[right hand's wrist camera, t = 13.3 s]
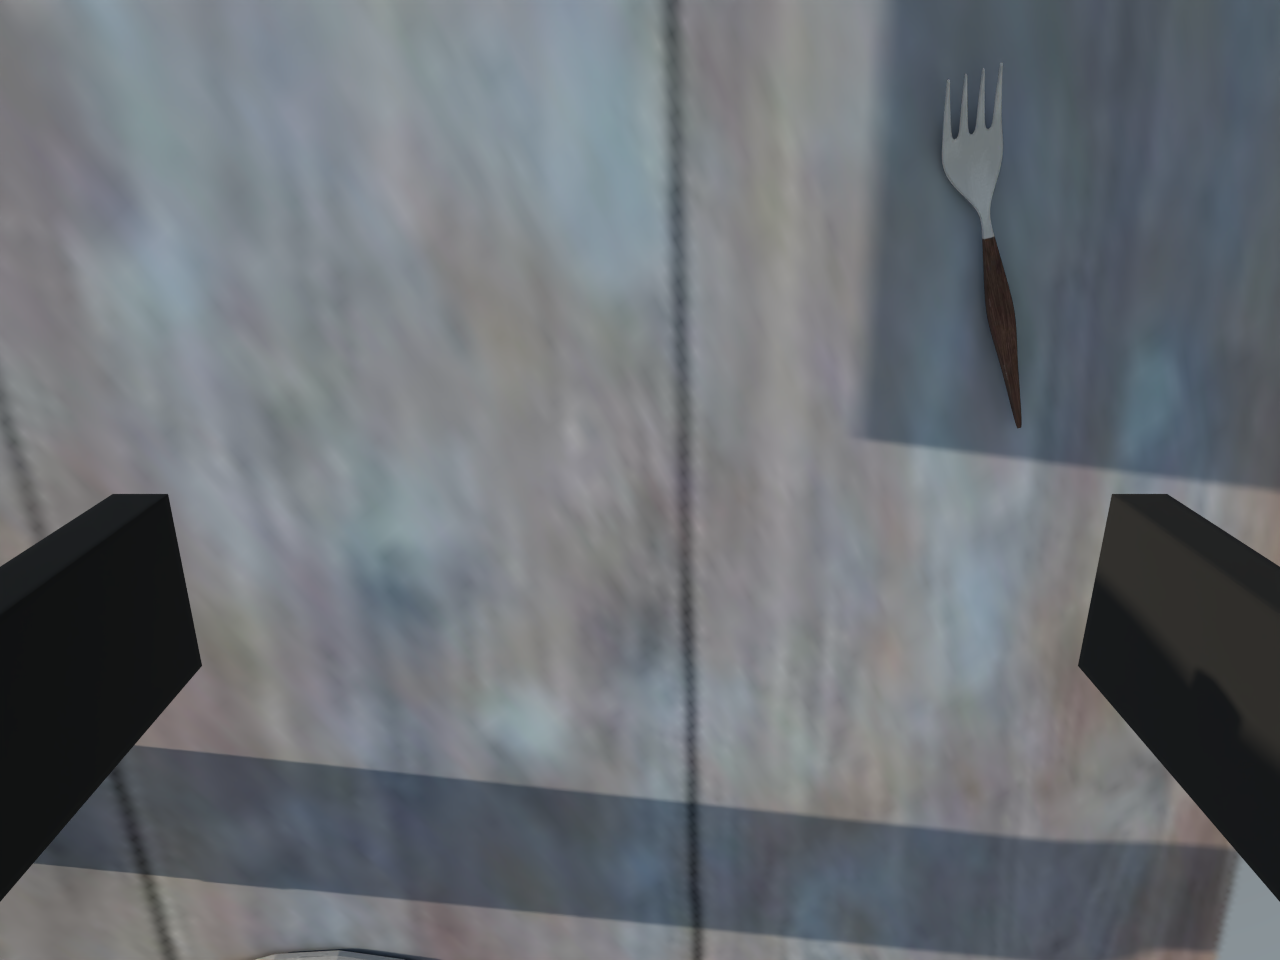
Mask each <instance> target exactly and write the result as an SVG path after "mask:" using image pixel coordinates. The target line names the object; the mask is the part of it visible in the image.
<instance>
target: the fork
mask: <svg viewBox="0 0 1280 960" xmlns="http://www.w3.org/2000/svg"><path fill="white" fill-rule="evenodd" d="M1002 71H1003V63H1002V62H1001V63H1000V66H999V74H998V81H997V88H996V95H995V103H994V112H993V120H992V125H991V127H990V128H989V129H987V128H986V126H985V69H984V68H983V69H982V75H981V83H980V91H979V99H978V108H977V119H976V127H975V131H974V133H973V134H970V133H969V130H968V107H967V74H965V77H964V85H963V94H962V104H961V114H960V126H959V133H958V137H957V138H956V139H953V138H952V133H951V113H950V79H947V87H946V97H945V108H944V121H943V140H942V164H943V168H944V171H945V174H946V176H947V178H948V179H949V181H950V182H951V184H952V185H953V186H954V187H955V188H956V189H957V190H958V191H959V192H960V193H961V194H962V195H963V196H964V197H965V198H966V199H967V200H968V201H969V202H970V203H971V204H972V206H973V207H974V208H975V209H976V211H977V212H978V214H979V217H980V221H981V227H982V242H983V267H984V288H985V303H986V311H987V317H988V322H989V327H990V330H991V334H992V338H993V341H994V345H995V348H996V352H997V355H998V358H999V362H1000V365H1001V369H1002V373H1003V376H1004V380H1005V384H1006V388H1007V392H1008V396H1009V400H1010V404H1011V408H1012V412H1013V416H1014V419H1015V423H1016V426H1017V428H1021V403H1020V389H1019V374H1018V356H1017V334H1016V321H1015V313H1014V307H1013V302H1012V298H1011V294H1010V290H1009V286H1008V282H1007V279H1006V275H1005V272H1004V268H1003V265H1002V261H1001V258H1000V254H999V251H998V247H997V244H996V240H995V236H994V233H993V229H992V224H991V219H990V205H991V200H992V196H993V192H994V189H995V185H996V182H997V179H998V175H999V171H1000V167H1001V162H1002V155H1003V134H1002Z"/></svg>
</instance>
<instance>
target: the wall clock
mask: <svg viewBox="0 0 1280 960" xmlns="http://www.w3.org/2000/svg"><path fill="white" fill-rule="evenodd" d="M255 960H404V959H397V958H390V957H383V956H376V955H369V954H362V953H355V952H348V951H341V950H337V951H318V952H300V953H282V954H274V955H270V956H266V957H263V958H259V959H255Z"/></svg>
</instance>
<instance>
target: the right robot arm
mask: <svg viewBox="0 0 1280 960" xmlns="http://www.w3.org/2000/svg"><path fill="white" fill-rule="evenodd" d="M201 666H202V664H201V659H200V654H199V649H198V643H197V638H196V633H195V628H194V623H193V618H192V613H191V608H190V603H189V598H188V593H187V588H186V583H185V578H184V573H183V568H182V563H181V558H180V553H179V548H178V542H177V537H176V532H175V527H174V522H173V517H172V512H171V507H170V502H169V497H168V494H112V495H111V496H109V497H108V498H106V499H104V500H103V501H101V502H100V503H98V504H97V505H95V506H94V507H92V508H91V509H89V510H87V511H86V512H84V513H83V514H81V515H80V516H78V517H77V518H75V519H74V520H72V521H70V522H69V523H67V524H66V525H64V526H63V527H61V528H60V529H58V530H56V531H55V532H53V533H52V534H50V535H49V536H47V537H46V538H44V539H43V540H41V541H39V542H38V543H36V544H35V545H33V546H32V547H30V548H29V549H27V550H26V551H24V552H22V553H21V554H19V555H18V556H16V557H15V558H13V559H12V560H10V561H9V562H7V563H5V564H4V565H2V566H1V567H0V901H1V900H2V899H3V898H4V897H5V895H6V894H7V893H8V892H9V891H10V890H11V888H12V887H13V886H14V885H15V884H16V883H17V881H18V880H19V879H20V878H21V877H22V876H23V874H24V873H25V872H26V871H27V870H28V869H29V867H30V866H31V865H32V864H33V863H34V862H35V860H36V859H37V858H38V857H39V856H40V854H41V853H42V852H43V851H44V850H45V849H46V847H47V846H48V845H49V844H50V843H51V842H52V840H53V839H54V838H55V837H56V836H57V835H58V833H59V832H60V831H61V830H62V829H63V828H64V826H65V825H66V824H67V823H68V822H69V821H70V819H71V818H72V817H73V816H74V815H75V814H76V812H77V811H78V810H79V809H80V808H81V807H82V805H83V804H84V803H85V802H86V801H87V800H88V798H89V797H90V796H91V795H92V794H93V793H94V791H95V790H96V789H97V788H98V787H99V785H100V784H101V783H102V782H103V781H104V780H105V778H106V777H107V776H108V775H109V774H110V773H111V771H112V770H113V769H114V768H115V767H116V766H117V764H118V763H119V762H120V761H121V760H122V759H123V757H124V756H125V755H126V754H127V753H128V752H129V750H130V749H131V748H132V747H133V746H134V745H135V743H136V742H137V741H138V740H139V739H140V738H141V736H142V735H143V734H144V733H145V732H146V731H147V729H148V728H149V727H150V726H151V725H152V724H153V722H154V721H155V720H156V719H157V718H158V717H159V715H160V714H161V713H162V712H163V711H164V709H165V708H166V707H167V706H168V705H169V704H170V702H171V701H172V700H173V699H174V698H175V697H176V695H177V694H178V693H179V692H180V691H181V690H182V688H183V687H184V686H185V685H186V684H187V683H188V681H189V680H190V679H191V678H192V677H193V676H194V674H195V673H196V672H197V671H198V670H199V669H200V667H201ZM1078 666H1079V667H1080V669H1081V670H1082V671H1083V672H1084V673H1085V674H1086V676H1087V677H1088V678H1089V679H1090V680H1091V681H1092V683H1093V684H1094V685H1095V686H1096V687H1097V688H1098V690H1099V691H1100V692H1101V693H1102V694H1103V695H1104V697H1105V698H1106V699H1107V700H1108V701H1109V702H1110V704H1111V705H1112V706H1113V707H1114V708H1115V709H1116V711H1117V712H1118V713H1119V714H1120V715H1121V717H1122V718H1123V719H1124V720H1125V721H1126V722H1127V724H1128V725H1129V726H1130V727H1131V728H1132V729H1133V731H1134V732H1135V733H1136V734H1137V735H1138V736H1139V738H1140V739H1141V740H1142V741H1143V742H1144V743H1145V745H1146V746H1147V747H1148V748H1149V749H1150V750H1151V752H1152V753H1153V754H1154V755H1155V756H1156V757H1157V759H1158V760H1159V761H1160V762H1161V763H1162V764H1163V766H1164V767H1165V768H1166V769H1167V770H1168V771H1169V773H1170V774H1171V775H1172V776H1173V777H1174V778H1175V780H1176V781H1177V782H1178V783H1179V784H1180V786H1181V787H1182V788H1183V789H1184V790H1185V791H1186V793H1187V794H1188V795H1189V796H1190V797H1191V798H1192V800H1193V801H1194V802H1195V803H1196V804H1197V805H1198V807H1199V808H1200V809H1201V810H1202V811H1203V812H1204V814H1205V815H1206V816H1207V817H1208V818H1209V819H1210V821H1211V822H1212V823H1213V824H1214V825H1215V826H1216V828H1217V829H1218V830H1219V831H1220V832H1221V833H1222V835H1223V836H1224V837H1225V838H1226V839H1227V840H1228V842H1229V843H1230V844H1231V845H1232V846H1233V847H1234V849H1235V850H1236V851H1237V852H1238V853H1239V854H1240V856H1241V857H1242V858H1243V859H1244V860H1245V862H1246V863H1247V864H1248V865H1249V866H1250V867H1251V868H1252V870H1253V871H1254V872H1255V873H1256V874H1257V876H1258V877H1259V878H1260V879H1261V880H1262V881H1263V883H1264V884H1265V885H1266V886H1267V887H1268V888H1269V890H1270V891H1271V892H1272V893H1273V894H1274V895H1275V897H1276V898H1277V899H1278V900H1279V901H1280V567H1279V566H1278V565H1276V564H1275V563H1273V562H1271V561H1270V560H1268V559H1267V558H1265V557H1264V556H1262V555H1261V554H1259V553H1258V552H1256V551H1254V550H1253V549H1251V548H1250V547H1248V546H1247V545H1245V544H1244V543H1242V542H1241V541H1239V540H1237V539H1236V538H1234V537H1233V536H1231V535H1230V534H1228V533H1227V532H1225V531H1224V530H1222V529H1220V528H1219V527H1217V526H1216V525H1214V524H1213V523H1211V522H1210V521H1208V520H1206V519H1205V518H1203V517H1202V516H1200V515H1199V514H1197V513H1196V512H1194V511H1193V510H1191V509H1189V508H1188V507H1186V506H1185V505H1183V504H1182V503H1180V502H1179V501H1177V500H1176V499H1174V498H1172V497H1171V496H1169V495H1168V494H1112V497H1111V502H1110V507H1109V512H1108V517H1107V522H1106V527H1105V532H1104V537H1103V542H1102V548H1101V553H1100V558H1099V563H1098V568H1097V573H1096V578H1095V583H1094V588H1093V593H1092V598H1091V603H1090V608H1089V613H1088V618H1087V623H1086V628H1085V633H1084V638H1083V643H1082V649H1081V654H1080V659H1079V664H1078Z"/></svg>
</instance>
